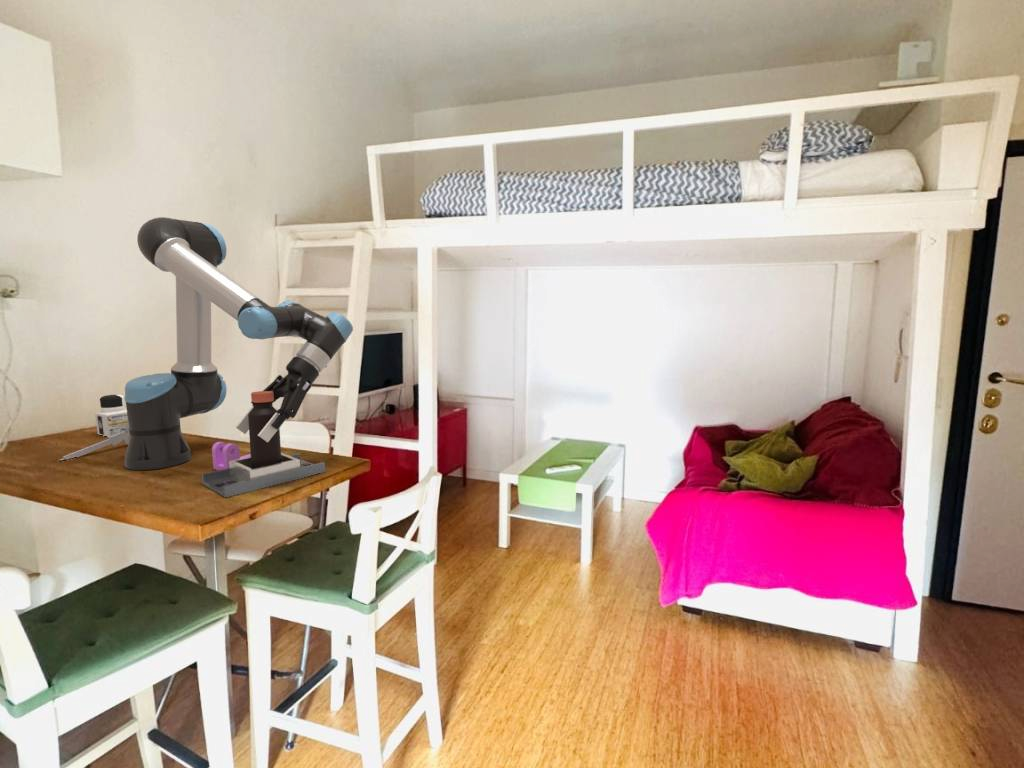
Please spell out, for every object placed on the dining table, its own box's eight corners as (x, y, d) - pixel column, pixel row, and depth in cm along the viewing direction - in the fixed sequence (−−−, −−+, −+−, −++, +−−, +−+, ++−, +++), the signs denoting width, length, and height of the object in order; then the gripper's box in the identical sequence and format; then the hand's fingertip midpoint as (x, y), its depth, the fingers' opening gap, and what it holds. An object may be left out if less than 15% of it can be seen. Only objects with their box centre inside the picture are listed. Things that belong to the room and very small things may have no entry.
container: (109, 438, 180) (104, 398, 178) (97, 435, 183) (92, 396, 182) (135, 433, 186) (130, 394, 184) (123, 430, 190) (118, 392, 188)
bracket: (227, 472, 143) (225, 446, 142) (213, 469, 145) (211, 443, 144) (270, 459, 154) (268, 434, 153) (256, 457, 157) (254, 432, 156)
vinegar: (286, 469, 141) (282, 390, 138) (275, 477, 134) (270, 394, 132) (259, 469, 141) (254, 390, 138) (246, 477, 134) (241, 394, 132)
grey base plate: (202, 484, 133) (200, 465, 133) (298, 462, 151) (297, 445, 150) (225, 497, 124) (223, 478, 123) (325, 472, 141) (324, 455, 141)
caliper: (135, 445, 172) (133, 424, 171) (137, 445, 171) (135, 425, 170) (58, 462, 154) (55, 440, 153) (60, 463, 153) (57, 440, 152)
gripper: (342, 378, 137) (286, 452, 128) (295, 370, 153) (242, 435, 144) (321, 358, 132) (261, 433, 123) (274, 352, 148) (218, 418, 139)
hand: (251, 434), depth 134 cm, fingers open, 12 cm apart
